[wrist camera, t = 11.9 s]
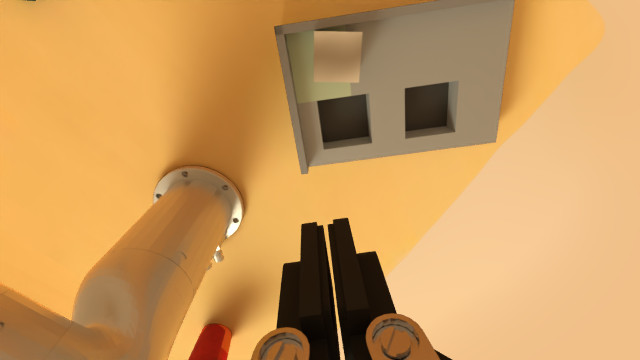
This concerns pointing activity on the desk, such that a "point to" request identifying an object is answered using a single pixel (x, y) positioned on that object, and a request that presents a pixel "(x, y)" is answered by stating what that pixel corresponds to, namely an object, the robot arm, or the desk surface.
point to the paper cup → (212, 343)
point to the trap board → (400, 81)
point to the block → (337, 56)
